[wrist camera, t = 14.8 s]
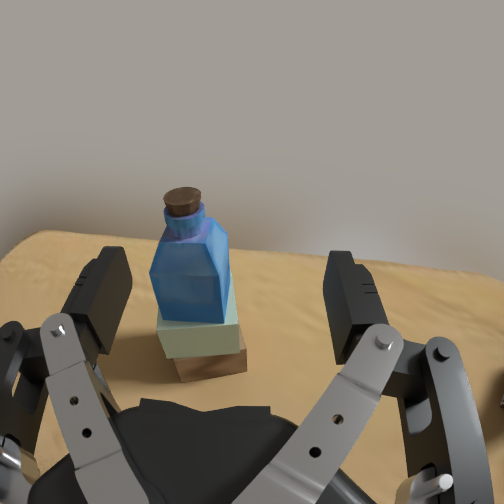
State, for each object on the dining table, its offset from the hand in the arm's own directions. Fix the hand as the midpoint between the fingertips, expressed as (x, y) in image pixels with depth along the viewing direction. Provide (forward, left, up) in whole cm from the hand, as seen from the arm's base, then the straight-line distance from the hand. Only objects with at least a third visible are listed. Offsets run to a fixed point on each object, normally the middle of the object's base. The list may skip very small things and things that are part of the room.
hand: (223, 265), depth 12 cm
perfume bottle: (-5, +14, -16) cm, 22 cm away
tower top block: (-5, +14, -21) cm, 25 cm away
